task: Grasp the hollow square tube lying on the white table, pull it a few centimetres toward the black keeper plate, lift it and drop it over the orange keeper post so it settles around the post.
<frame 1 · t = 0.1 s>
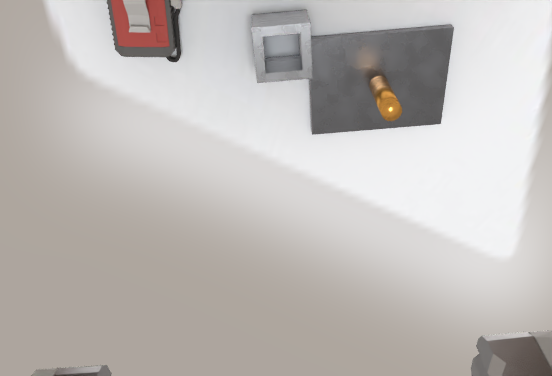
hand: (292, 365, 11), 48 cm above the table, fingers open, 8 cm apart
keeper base: (376, 80, 58), on the table
hollow square tube: (281, 39, 55), on the table
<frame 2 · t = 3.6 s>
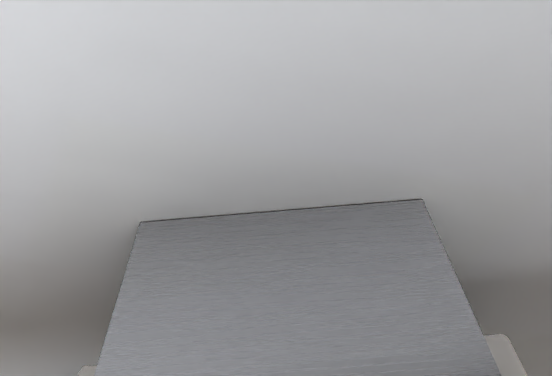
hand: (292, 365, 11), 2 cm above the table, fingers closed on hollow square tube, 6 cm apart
hollow square tube: (289, 305, 12), on the table, touching gripper
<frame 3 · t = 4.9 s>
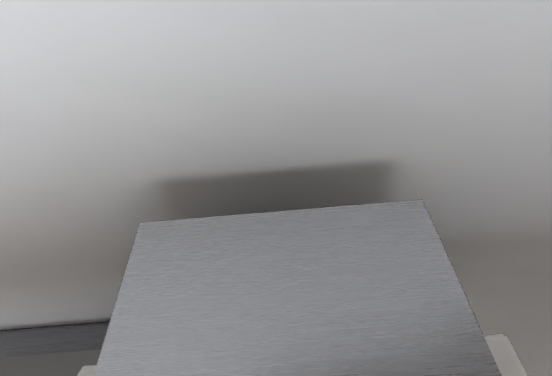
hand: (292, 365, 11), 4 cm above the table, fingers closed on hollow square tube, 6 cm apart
hollow square tube: (289, 305, 12), point 2 cm above the table, touching gripper
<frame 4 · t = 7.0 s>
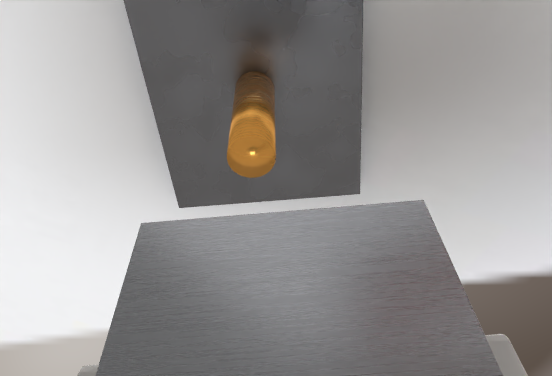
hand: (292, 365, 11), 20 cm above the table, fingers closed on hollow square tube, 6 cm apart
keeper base: (255, 82, 28), on the table
hollow square tube: (290, 306, 12), point 18 cm above the table, touching gripper
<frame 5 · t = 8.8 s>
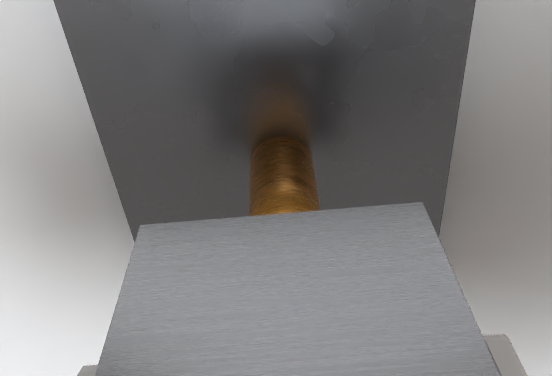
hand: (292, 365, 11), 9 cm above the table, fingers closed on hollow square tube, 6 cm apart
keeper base: (280, 149, 18), on the table
hollow square tube: (289, 307, 12), point 7 cm above the table, touching gripper
when the fingers open (4 cm above the table, at t = 10.4 s): hollow square tube stays where it is, resting on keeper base.
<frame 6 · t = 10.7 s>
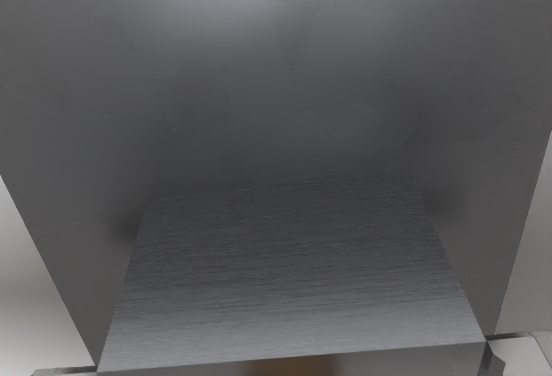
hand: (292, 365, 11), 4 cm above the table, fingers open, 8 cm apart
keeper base: (283, 253, 14), on the table
hollow square tube: (287, 278, 13), point 1 cm above the table, touching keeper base
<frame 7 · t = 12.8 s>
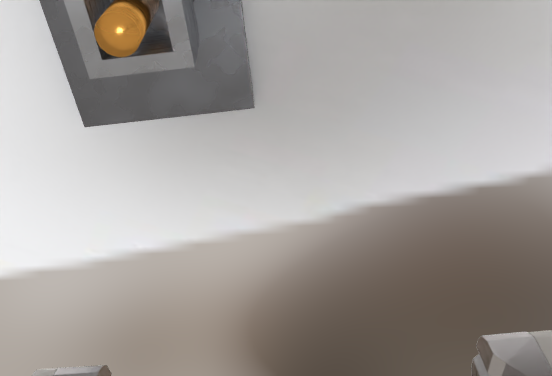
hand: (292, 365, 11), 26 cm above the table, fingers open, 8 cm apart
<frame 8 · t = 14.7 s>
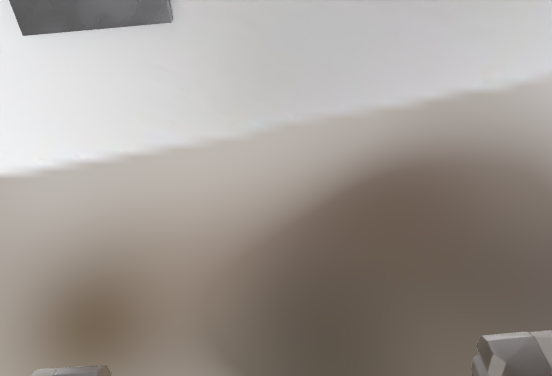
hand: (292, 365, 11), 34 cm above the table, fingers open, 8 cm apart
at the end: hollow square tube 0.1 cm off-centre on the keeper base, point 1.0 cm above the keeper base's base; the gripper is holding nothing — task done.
